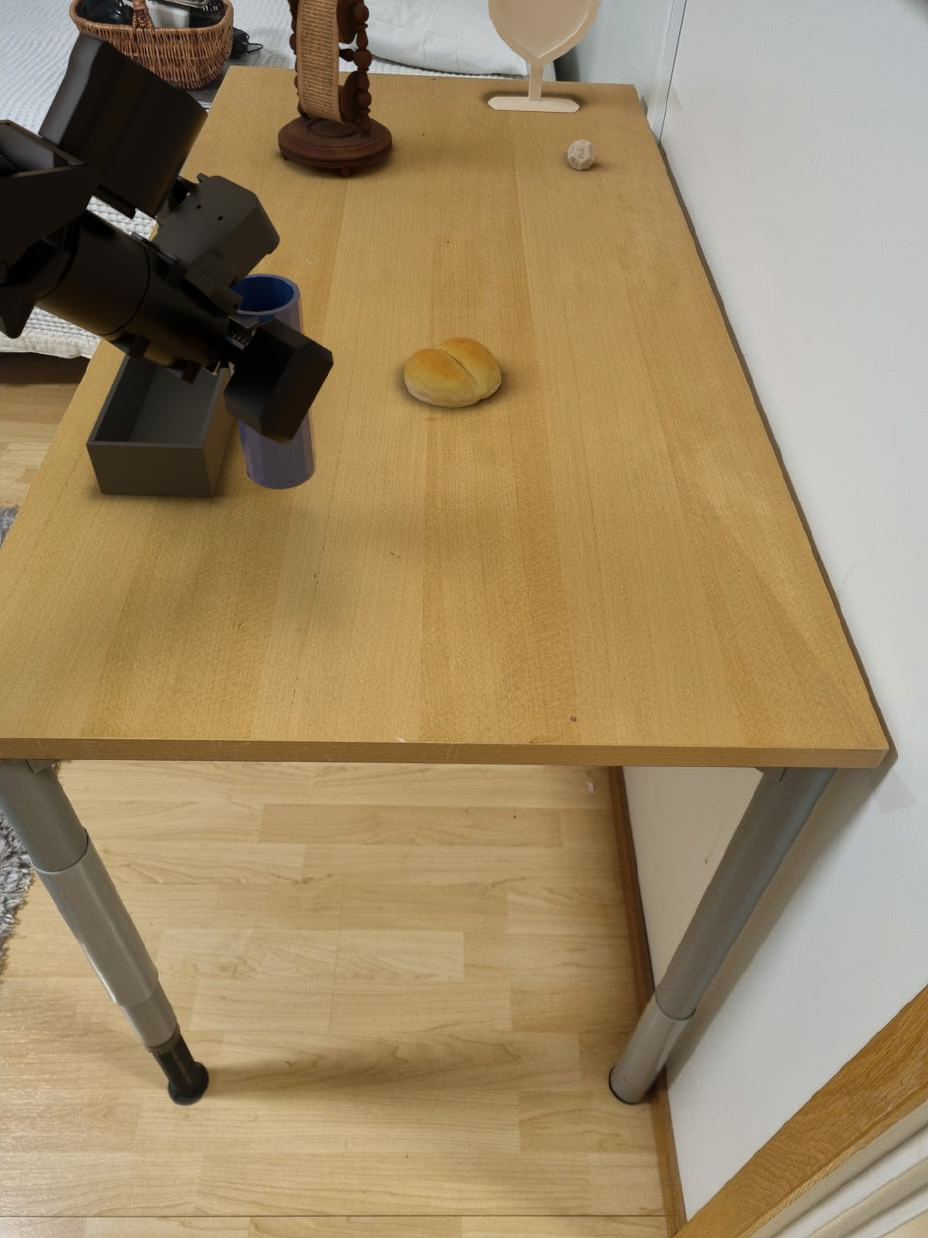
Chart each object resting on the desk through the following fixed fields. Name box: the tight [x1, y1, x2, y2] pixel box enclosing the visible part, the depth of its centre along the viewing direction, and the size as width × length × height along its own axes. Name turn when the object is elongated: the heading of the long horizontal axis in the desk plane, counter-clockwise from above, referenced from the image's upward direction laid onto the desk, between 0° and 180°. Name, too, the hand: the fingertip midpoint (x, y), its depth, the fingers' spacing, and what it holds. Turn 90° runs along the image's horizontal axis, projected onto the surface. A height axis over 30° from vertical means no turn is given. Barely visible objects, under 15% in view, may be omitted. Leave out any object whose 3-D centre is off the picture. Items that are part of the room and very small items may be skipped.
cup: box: [226, 273, 317, 490], centre depth 64 cm, size 5×5×14 cm
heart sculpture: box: [487, 0, 602, 113], centre depth 131 cm, size 16×5×18 cm, turn 91°
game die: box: [567, 139, 596, 171], centre depth 123 cm, size 4×4×3 cm
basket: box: [85, 353, 236, 498], centre depth 82 cm, size 22×9×6 cm, turn 0°
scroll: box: [277, 0, 393, 178], centre depth 115 cm, size 15×15×20 cm
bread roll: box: [403, 336, 502, 409], centre depth 87 cm, size 8×9×4 cm
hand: (286, 378), depth 65 cm, fingers closed on cup, 5 cm apart
